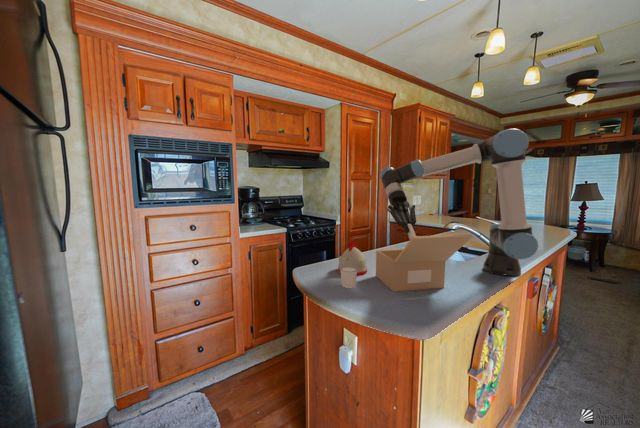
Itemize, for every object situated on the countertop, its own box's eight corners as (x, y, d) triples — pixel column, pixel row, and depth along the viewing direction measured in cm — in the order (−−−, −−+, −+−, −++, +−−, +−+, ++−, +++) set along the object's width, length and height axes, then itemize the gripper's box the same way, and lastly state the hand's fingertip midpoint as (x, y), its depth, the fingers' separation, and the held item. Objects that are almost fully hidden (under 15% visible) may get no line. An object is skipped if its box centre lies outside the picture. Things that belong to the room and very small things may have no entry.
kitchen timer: (332, 272, 126) (333, 241, 125) (346, 265, 138) (346, 237, 136) (359, 278, 119) (360, 245, 117) (371, 270, 130) (372, 240, 128)
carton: (375, 276, 121) (376, 250, 120) (420, 273, 125) (421, 248, 123) (393, 291, 103) (394, 261, 102) (444, 288, 107) (445, 259, 106)
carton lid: (413, 236, 88) (413, 238, 87) (472, 234, 91) (473, 236, 91) (394, 261, 102) (394, 263, 101) (446, 258, 105) (446, 260, 105)
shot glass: (354, 289, 105) (355, 272, 104) (338, 287, 107) (338, 270, 107) (358, 283, 111) (358, 267, 111) (342, 281, 114) (343, 266, 113)
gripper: (406, 200, 125) (424, 243, 111) (380, 200, 122) (395, 244, 108) (412, 189, 119) (432, 233, 105) (385, 189, 116) (401, 234, 102)
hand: (413, 238), depth 106 cm, fingers closed
